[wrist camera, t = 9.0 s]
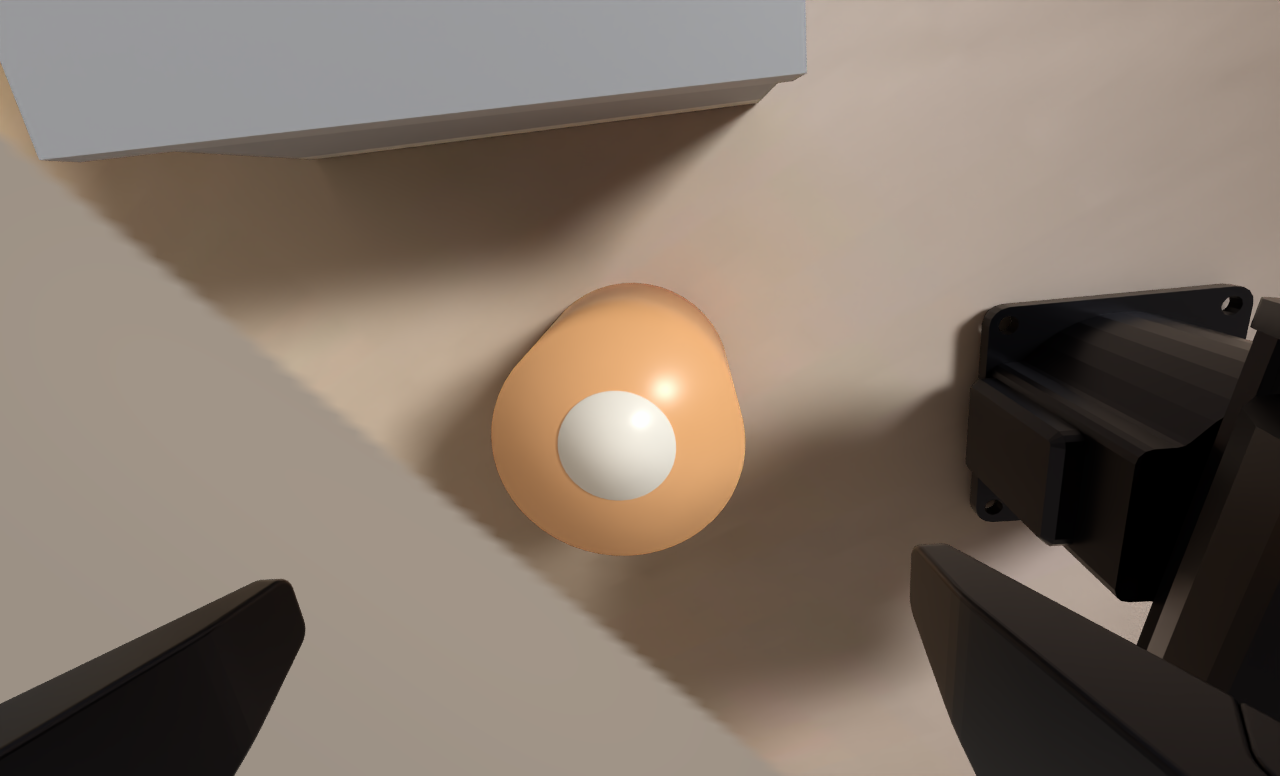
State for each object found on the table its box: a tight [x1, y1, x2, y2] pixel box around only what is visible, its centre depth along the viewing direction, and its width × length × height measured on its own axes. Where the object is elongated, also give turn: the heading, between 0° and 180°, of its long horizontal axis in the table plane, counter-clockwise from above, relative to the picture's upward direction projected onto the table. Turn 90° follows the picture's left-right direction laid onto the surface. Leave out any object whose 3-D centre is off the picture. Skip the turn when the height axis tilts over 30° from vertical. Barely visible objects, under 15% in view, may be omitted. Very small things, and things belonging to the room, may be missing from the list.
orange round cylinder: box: [491, 283, 745, 556], centre depth 16 cm, size 6×6×5 cm
